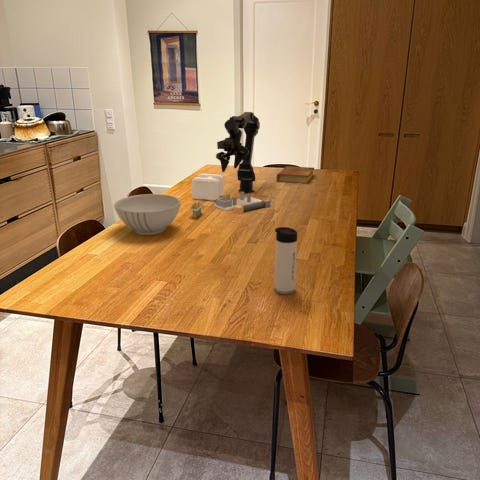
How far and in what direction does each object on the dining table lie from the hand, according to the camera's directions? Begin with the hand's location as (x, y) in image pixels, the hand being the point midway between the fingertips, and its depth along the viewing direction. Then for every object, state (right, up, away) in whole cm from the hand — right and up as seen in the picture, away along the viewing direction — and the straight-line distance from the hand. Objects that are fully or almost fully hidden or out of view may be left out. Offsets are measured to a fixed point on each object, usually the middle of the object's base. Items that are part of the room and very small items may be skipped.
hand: (228, 170), depth 218 cm
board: (+5, -16, +10) cm, 19 cm away
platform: (-15, -23, -8) cm, 28 cm away
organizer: (-11, -12, +21) cm, 27 cm away
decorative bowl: (-33, -29, -26) cm, 51 cm away
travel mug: (+19, -49, -77) cm, 93 cm away
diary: (+39, +4, +62) cm, 74 cm away
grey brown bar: (+11, -19, +2) cm, 22 cm away
